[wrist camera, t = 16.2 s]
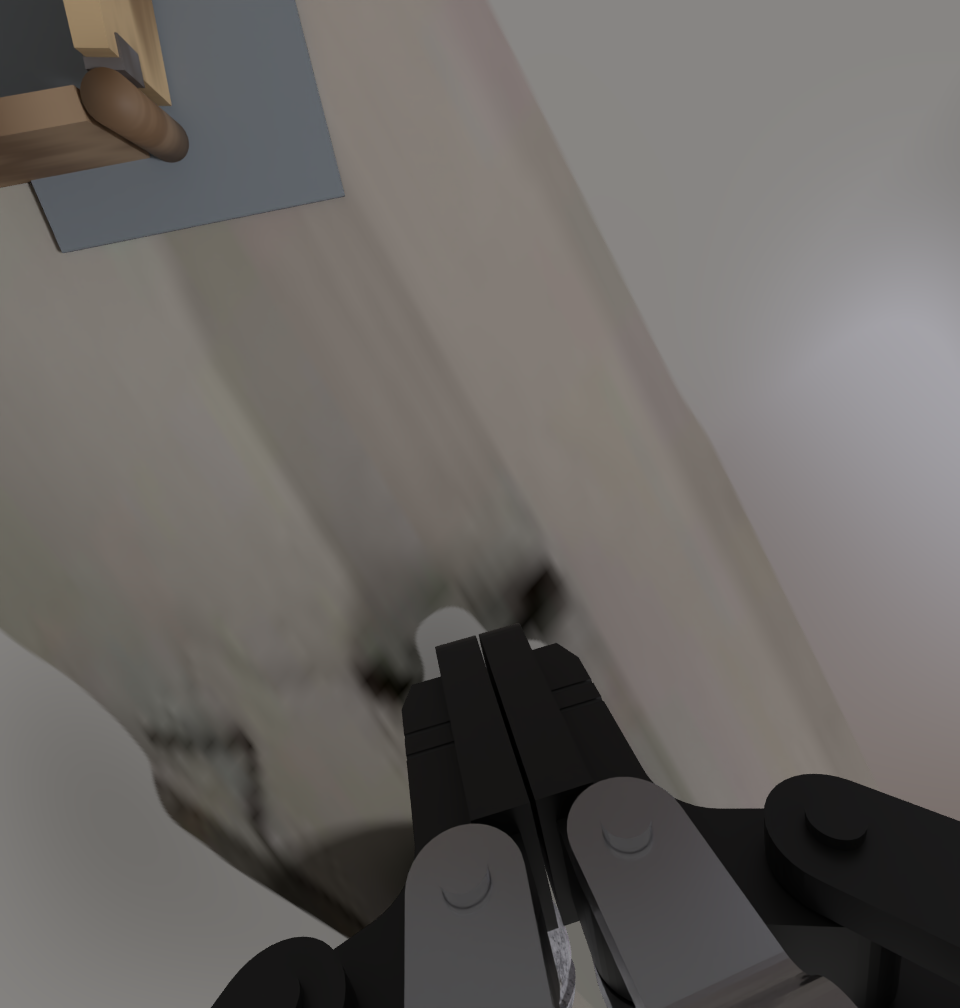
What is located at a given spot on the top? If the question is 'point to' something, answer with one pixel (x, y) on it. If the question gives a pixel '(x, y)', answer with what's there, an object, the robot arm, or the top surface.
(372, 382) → the top surface
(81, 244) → the board
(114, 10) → the fence gate
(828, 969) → the robot arm
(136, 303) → the top surface
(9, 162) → the fence fixed
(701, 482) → the top surface
